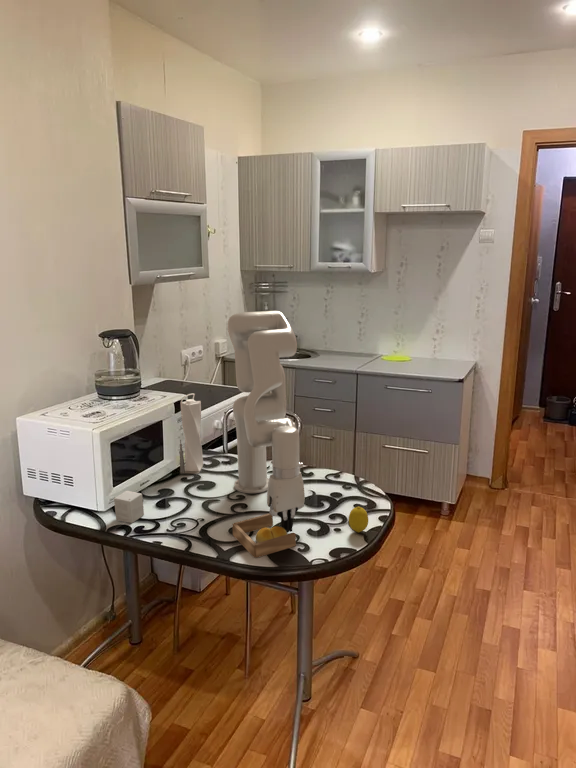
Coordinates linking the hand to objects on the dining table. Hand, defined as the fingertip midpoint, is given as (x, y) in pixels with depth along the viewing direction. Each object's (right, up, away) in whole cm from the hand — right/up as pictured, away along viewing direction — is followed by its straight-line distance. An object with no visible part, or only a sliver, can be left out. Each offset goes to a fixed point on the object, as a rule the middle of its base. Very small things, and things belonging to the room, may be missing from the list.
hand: (287, 529), depth 168 cm
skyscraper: (-34, +10, +47) cm, 59 cm away
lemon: (+20, -1, 0) cm, 20 cm away
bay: (-6, -2, -3) cm, 7 cm away
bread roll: (-4, -2, -4) cm, 6 cm away
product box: (-48, +1, +11) cm, 49 cm away
